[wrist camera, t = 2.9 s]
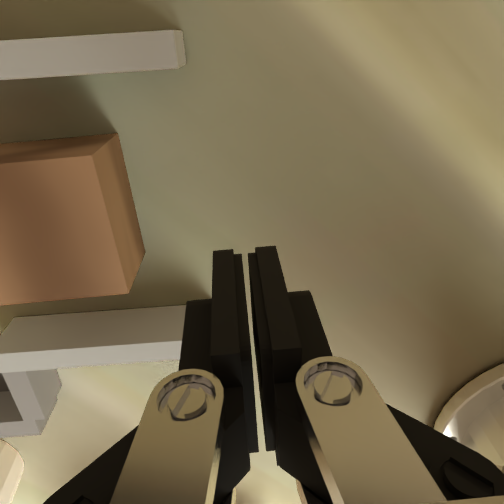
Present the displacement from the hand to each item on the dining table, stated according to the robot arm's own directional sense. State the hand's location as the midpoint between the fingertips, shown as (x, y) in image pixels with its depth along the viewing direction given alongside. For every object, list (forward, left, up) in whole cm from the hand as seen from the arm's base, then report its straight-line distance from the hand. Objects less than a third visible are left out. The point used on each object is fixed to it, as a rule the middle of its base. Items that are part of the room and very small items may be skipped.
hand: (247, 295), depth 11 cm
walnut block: (+8, 0, -10) cm, 13 cm away
